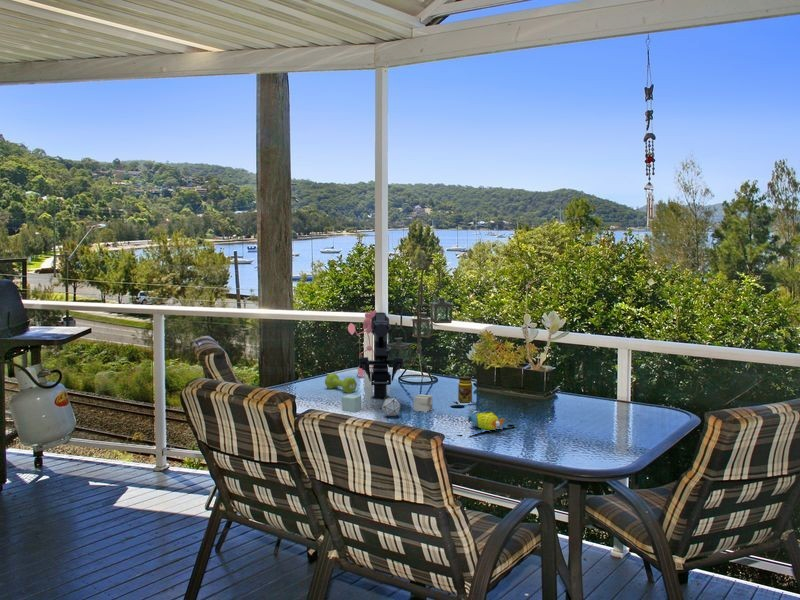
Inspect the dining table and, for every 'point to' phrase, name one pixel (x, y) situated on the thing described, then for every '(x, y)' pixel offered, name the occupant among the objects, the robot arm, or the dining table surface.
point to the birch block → (422, 403)
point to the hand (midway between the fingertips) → (381, 381)
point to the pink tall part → (366, 325)
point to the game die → (391, 407)
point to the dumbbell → (340, 383)
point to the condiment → (465, 389)
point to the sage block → (351, 403)
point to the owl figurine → (485, 420)
